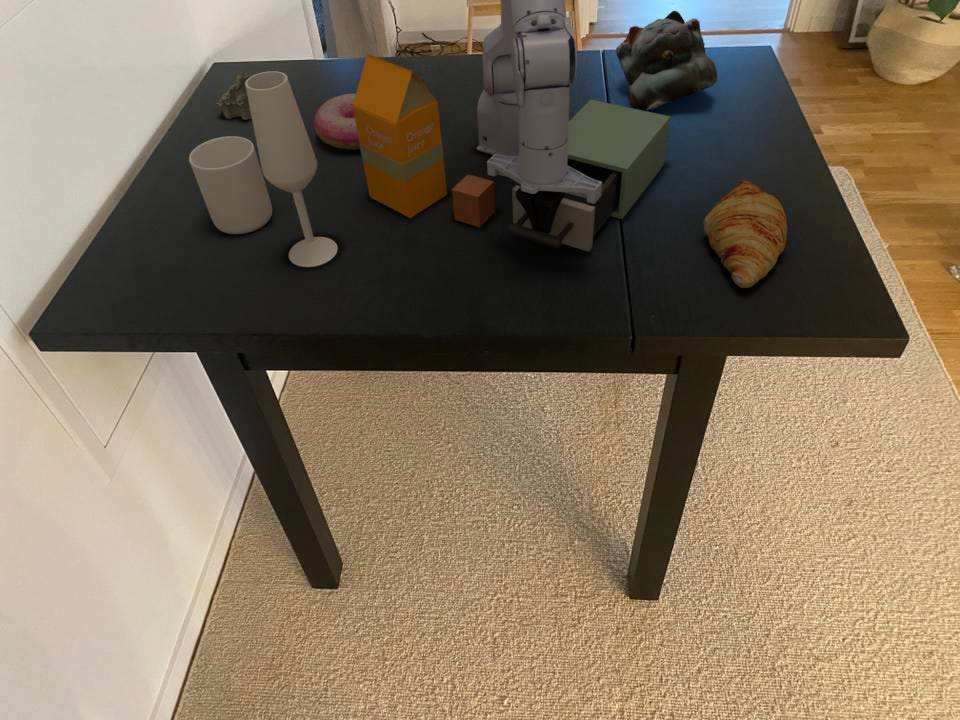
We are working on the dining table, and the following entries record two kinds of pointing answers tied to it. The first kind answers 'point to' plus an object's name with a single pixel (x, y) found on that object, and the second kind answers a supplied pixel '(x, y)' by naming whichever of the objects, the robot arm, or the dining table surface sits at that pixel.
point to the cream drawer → (573, 212)
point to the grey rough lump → (236, 99)
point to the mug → (232, 184)
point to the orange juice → (399, 137)
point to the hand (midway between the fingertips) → (542, 234)
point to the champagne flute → (286, 155)
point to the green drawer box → (620, 145)
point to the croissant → (747, 232)
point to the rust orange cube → (473, 200)
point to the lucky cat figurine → (665, 61)
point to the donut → (338, 123)
